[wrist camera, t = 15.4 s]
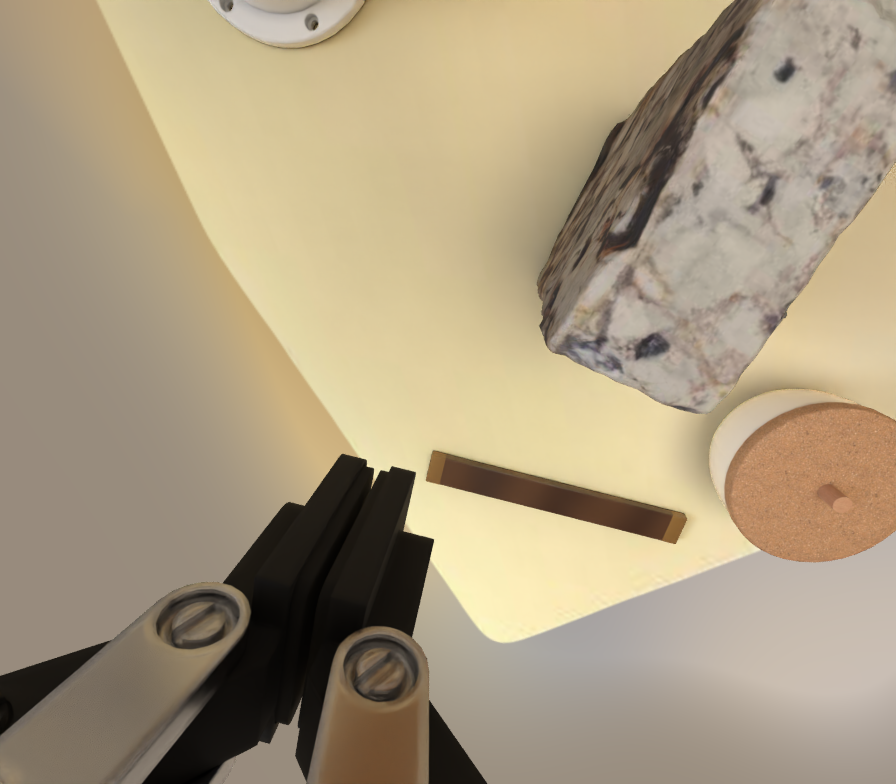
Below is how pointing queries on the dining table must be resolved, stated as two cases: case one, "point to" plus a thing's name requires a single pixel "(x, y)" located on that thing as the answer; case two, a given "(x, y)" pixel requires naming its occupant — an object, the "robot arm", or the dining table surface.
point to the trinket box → (807, 474)
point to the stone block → (724, 196)
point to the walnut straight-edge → (556, 497)
